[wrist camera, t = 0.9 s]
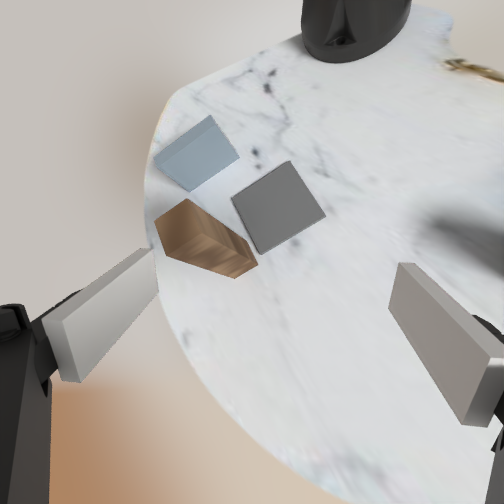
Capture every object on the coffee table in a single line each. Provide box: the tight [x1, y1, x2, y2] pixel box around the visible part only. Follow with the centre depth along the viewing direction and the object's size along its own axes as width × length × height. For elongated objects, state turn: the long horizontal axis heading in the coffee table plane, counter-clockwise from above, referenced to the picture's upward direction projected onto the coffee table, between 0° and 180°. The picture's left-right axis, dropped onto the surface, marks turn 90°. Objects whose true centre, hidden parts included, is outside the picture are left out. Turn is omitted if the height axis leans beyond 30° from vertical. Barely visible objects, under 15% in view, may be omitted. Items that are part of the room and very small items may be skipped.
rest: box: [232, 161, 326, 255], centre depth 38 cm, size 10×10×1 cm
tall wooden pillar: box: [154, 199, 258, 279], centre depth 31 cm, size 4×4×15 cm
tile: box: [153, 115, 240, 192], centre depth 40 cm, size 10×2×8 cm, turn 116°
